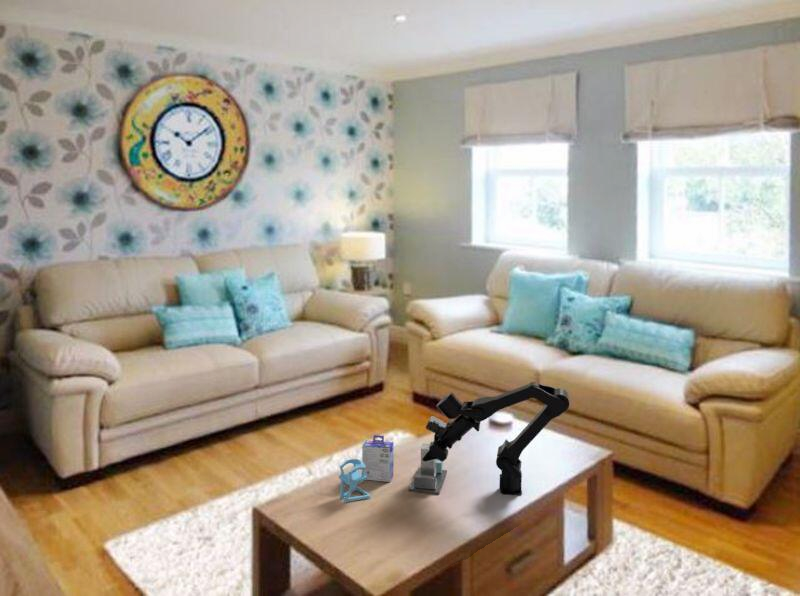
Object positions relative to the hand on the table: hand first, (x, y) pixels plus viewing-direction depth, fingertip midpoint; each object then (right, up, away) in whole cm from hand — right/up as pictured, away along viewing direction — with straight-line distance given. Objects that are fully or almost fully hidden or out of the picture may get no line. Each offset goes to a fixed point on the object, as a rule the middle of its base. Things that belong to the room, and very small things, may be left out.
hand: (424, 457), depth 215 cm
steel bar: (+1, -7, +1) cm, 7 cm away
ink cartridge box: (-15, -8, +4) cm, 18 cm away
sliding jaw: (+4, -5, +11) cm, 13 cm away
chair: (-23, -11, -9) cm, 27 cm away
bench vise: (+1, -8, +1) cm, 9 cm away
